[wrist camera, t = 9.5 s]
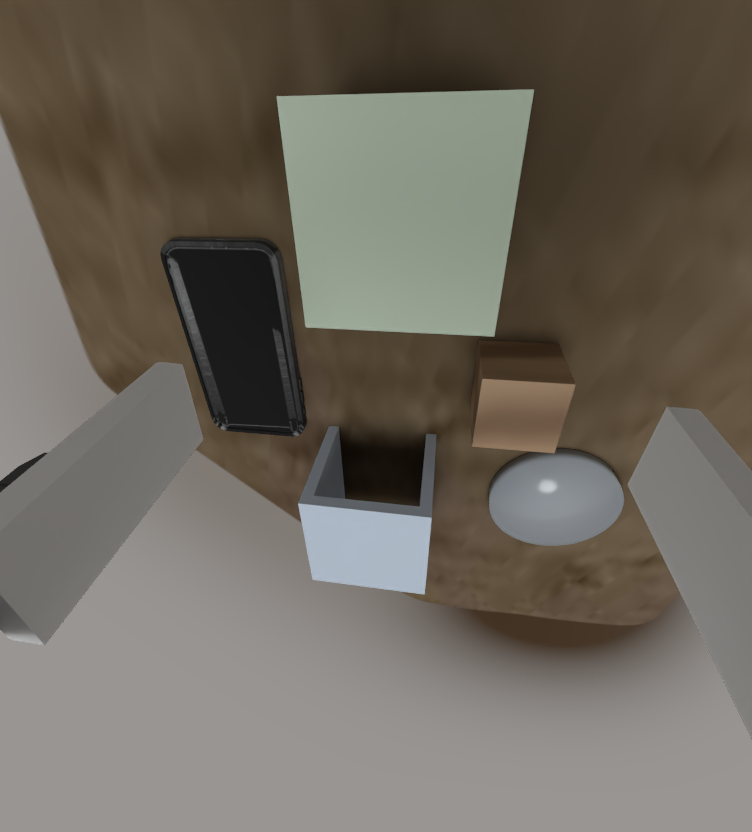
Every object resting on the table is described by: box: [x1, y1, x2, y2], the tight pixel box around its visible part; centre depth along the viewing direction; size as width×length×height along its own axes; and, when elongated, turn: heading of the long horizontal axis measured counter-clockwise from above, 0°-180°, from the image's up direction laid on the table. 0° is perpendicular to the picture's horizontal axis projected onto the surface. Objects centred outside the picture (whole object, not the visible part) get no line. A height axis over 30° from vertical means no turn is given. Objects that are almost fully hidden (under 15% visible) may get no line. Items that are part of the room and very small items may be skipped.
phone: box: [161, 238, 306, 436], centre depth 30 cm, size 8×1×15 cm
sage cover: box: [276, 89, 534, 337], centre depth 20 cm, size 9×9×8 cm
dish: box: [488, 448, 624, 546], centre depth 34 cm, size 10×10×1 cm
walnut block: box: [470, 340, 576, 453], centre depth 27 cm, size 5×5×5 cm
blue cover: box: [298, 426, 437, 594], centre depth 33 cm, size 9×9×8 cm
